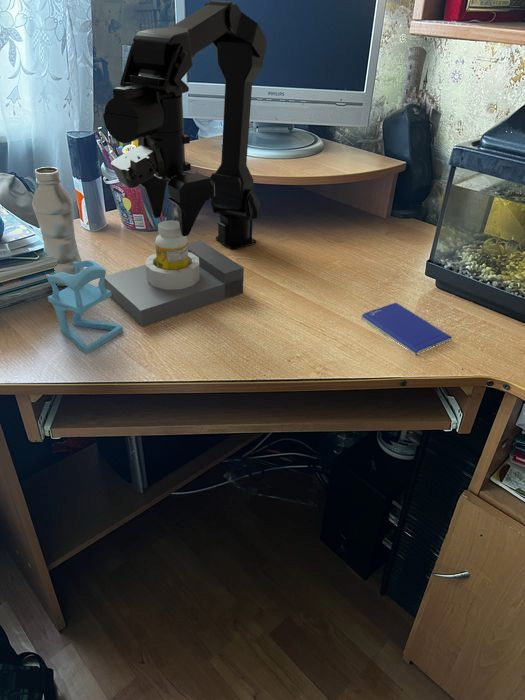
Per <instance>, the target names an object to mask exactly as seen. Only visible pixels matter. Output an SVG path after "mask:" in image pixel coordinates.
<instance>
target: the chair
mask: <svg viewBox="0 0 525 700" xmlns="http://www.w3.org/2000/svg"><path fill="white" fill-rule="evenodd" d="M73 264H74V267H75V271H76V274H75V275H71V274H67V273H64V272H60V273H56V274H54V275H49V274H46V275H45V277H46V280H47V281H48V283H49V285H50V286H51V289H52V294H50V295H48V296H47V301H48V303H50V304H51V305H52V306H53V308H54V311H55V313H56V317H57V320H58V324H59V329H60V330H59V331H60V332H61V333H63V334H64V335H65V336H67V337H68V338H69V340H71V342H72V343H73V344H75V345H76V346H77V348H79V349H80V350H81V351H82V352H84V354H90V353H91V352H94V351H95V350H96V349H98V348H100V347H101V346H103V345H104V344H105V343H107V342H109V341H110V340H112V339H113V338H115V337H116V336H118V335H119V334H121V333H122V332H123V330H124V329H123V325H122V324H118V323H115V322H107V321H100V320H99V321H98V320H93V319H86V318H82V316H83V313H85V312H87V311H89V310H90V309H91V308H92V307H94V306H95V305H97V304H100V303H101V302H103V301H104V302H105V301H106V300H107V299H109V298H110V299H111V296H112V293H111V291H110V290H107V289H105V287H104V279H105V275H107V274H106V272H107V270H106V269H105V268H104V267H103V266H102V265H101V264H99V263H98V262H96V261H95V260H91V259H89V260H82V262H73ZM82 267H84V270H82V271H81V272H80V268H82ZM97 279H99V280H98V286H97V285H93V284H91V283H90V282H92V281H94V280H97ZM54 281H58V282H61V283H63V284H65V285H66V286H65V288H63V289H62V290H59V286H58V285H56V284H55V283H54ZM66 311H71V312H74V313H73V316H72V319H71V321H72V324H73V325H74V326H78V327H83V328H91V329H101V330H106V331H107V330H109V332H107V333H105V334H104V335H102V336H101V337H99V338H97V339H95V340H94V341H93V342H91V343H90V344H86V343H85V342H84V341H83V340H82V339H81V338H80V336H79V335H78V334H77V333H76V332H75V331H74V330H73V329H72V327H70V326H69V325H68V320H67V317H66Z"/></svg>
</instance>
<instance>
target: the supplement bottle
mask: <svg viewBox="0 0 525 700" xmlns="http://www.w3.org/2000/svg"><path fill="white" fill-rule="evenodd" d="M157 231H158V235H157V236H156V238H155V240H154V241H155V242H154V243H155V253H156V258H157V268H160V269H164V270H180V269H183V268H187V267H188V243H189V242H188V237H187V236H182V234H181V230H180V224H179V220H172V219H170V220H169V219H168V220H162V221H161V222H159V223H158V225H157Z"/></svg>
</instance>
